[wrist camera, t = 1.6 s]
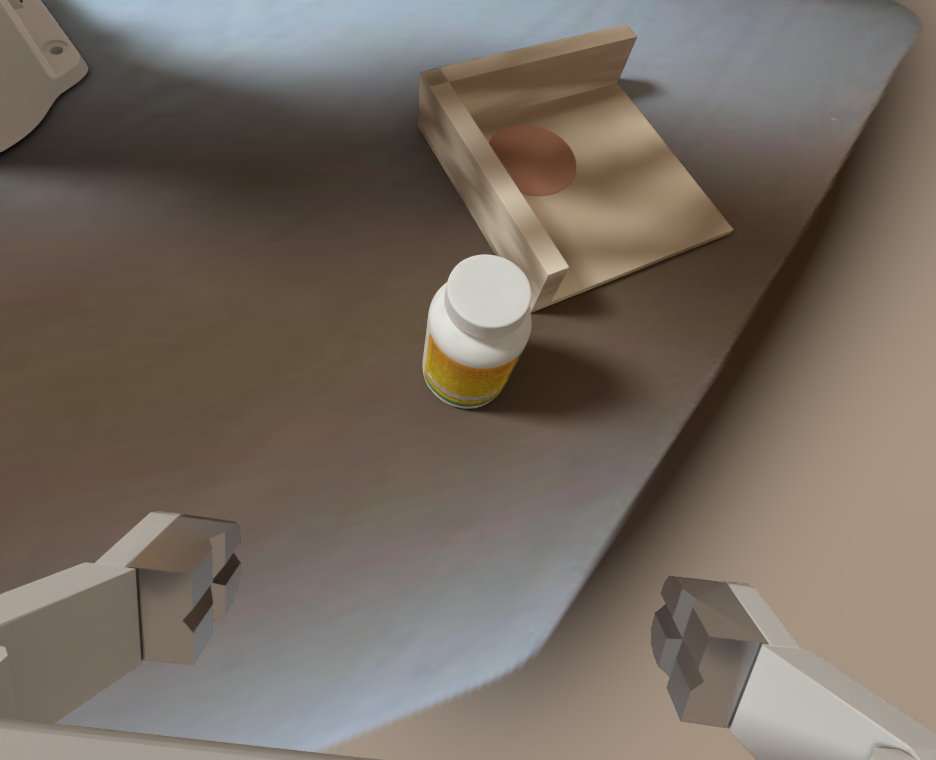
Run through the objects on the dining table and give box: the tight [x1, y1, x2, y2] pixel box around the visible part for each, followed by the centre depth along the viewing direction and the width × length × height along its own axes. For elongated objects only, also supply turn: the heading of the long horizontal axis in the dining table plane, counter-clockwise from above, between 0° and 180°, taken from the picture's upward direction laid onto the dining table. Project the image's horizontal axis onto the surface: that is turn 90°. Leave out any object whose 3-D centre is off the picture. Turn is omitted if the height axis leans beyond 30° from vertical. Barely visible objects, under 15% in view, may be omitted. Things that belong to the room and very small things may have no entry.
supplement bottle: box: [423, 255, 532, 409], centre depth 29 cm, size 5×5×10 cm
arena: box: [418, 24, 733, 313], centre depth 38 cm, size 18×18×4 cm
